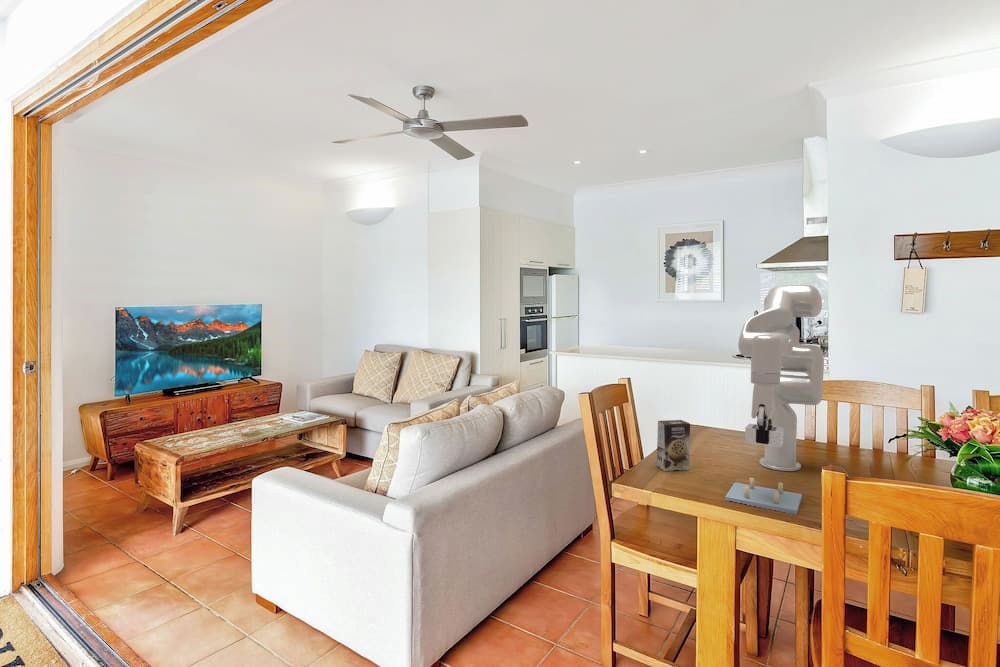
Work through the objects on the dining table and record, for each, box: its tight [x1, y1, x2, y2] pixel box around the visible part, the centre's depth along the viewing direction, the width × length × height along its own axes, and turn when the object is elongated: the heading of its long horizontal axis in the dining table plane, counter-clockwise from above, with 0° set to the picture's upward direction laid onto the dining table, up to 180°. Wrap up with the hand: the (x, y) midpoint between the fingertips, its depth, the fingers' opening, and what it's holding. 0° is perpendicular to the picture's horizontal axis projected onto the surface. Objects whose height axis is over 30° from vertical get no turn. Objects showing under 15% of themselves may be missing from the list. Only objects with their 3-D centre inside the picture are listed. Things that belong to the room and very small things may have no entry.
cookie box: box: [656, 419, 691, 472], centre depth 179 cm, size 9×6×16 cm
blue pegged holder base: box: [724, 477, 803, 516], centre depth 151 cm, size 14×18×4 cm
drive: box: [744, 423, 783, 448], centre depth 150 cm, size 6×9×5 cm, turn 54°
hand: (764, 440), depth 150 cm, fingers closed on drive, 5 cm apart
